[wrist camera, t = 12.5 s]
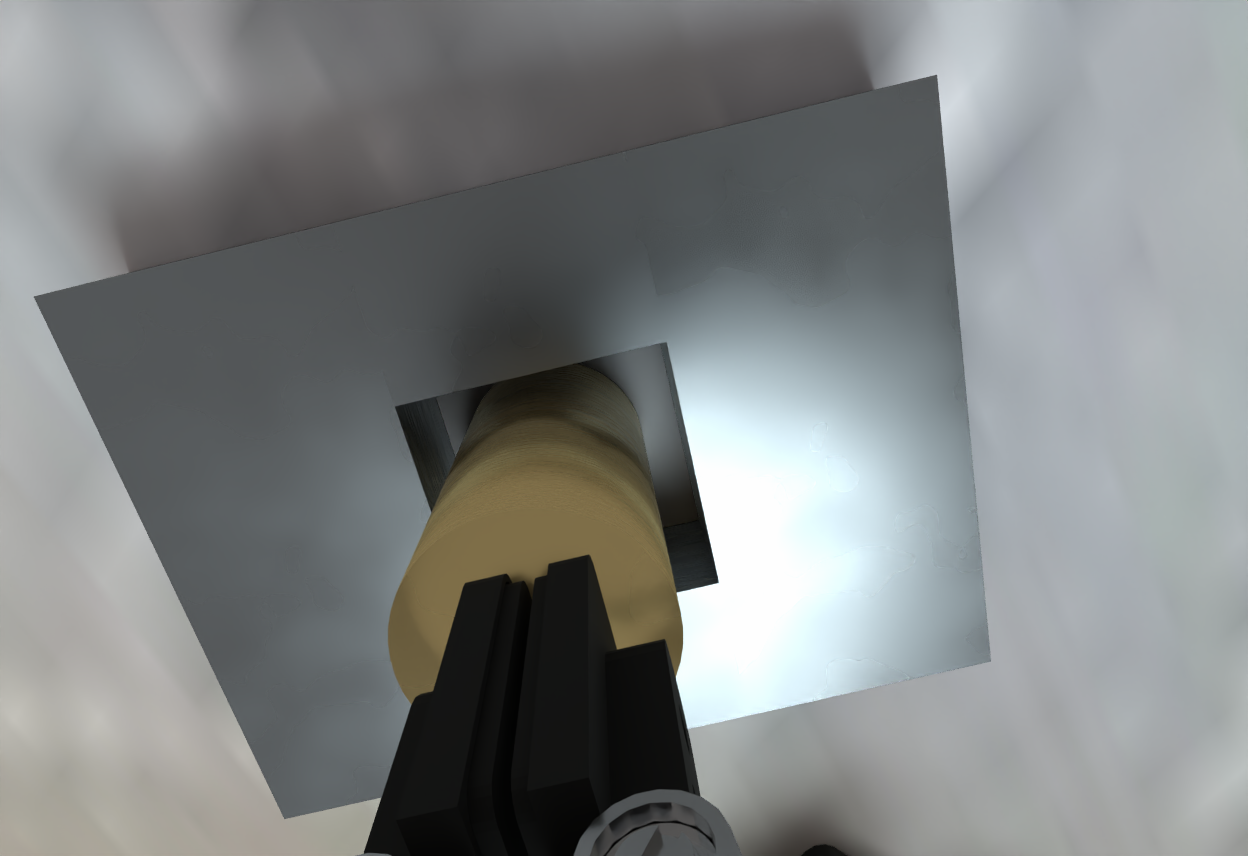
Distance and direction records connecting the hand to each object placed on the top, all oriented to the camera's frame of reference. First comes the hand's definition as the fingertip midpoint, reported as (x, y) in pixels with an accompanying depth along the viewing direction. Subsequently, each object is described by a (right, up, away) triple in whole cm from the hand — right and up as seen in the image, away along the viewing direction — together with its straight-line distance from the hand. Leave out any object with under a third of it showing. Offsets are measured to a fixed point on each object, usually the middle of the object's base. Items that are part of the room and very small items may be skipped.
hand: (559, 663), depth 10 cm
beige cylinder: (-1, +3, +8) cm, 8 cm away
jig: (0, +3, +8) cm, 8 cm away
